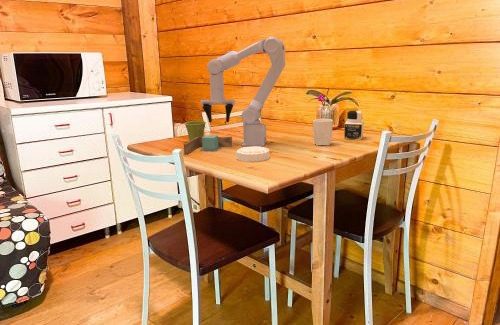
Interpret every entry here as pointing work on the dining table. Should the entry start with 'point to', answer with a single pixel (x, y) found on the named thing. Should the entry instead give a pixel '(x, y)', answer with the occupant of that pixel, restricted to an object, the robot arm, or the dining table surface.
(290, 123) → the dining table surface
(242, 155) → the white flat cylinder
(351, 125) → the medicine bottle
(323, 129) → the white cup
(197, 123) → the plant pot
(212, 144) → the cube
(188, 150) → the brown corner wall
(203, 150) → the mat
